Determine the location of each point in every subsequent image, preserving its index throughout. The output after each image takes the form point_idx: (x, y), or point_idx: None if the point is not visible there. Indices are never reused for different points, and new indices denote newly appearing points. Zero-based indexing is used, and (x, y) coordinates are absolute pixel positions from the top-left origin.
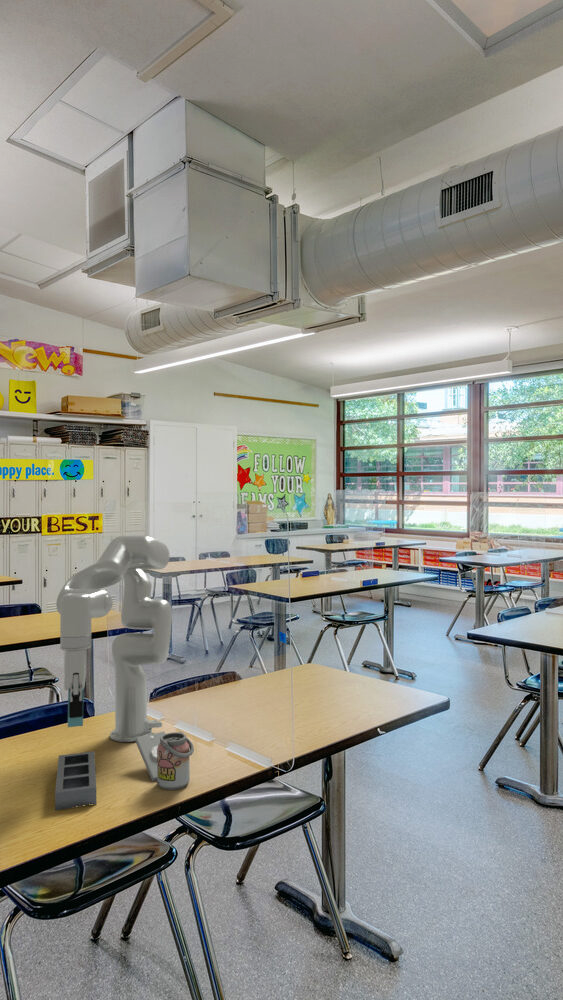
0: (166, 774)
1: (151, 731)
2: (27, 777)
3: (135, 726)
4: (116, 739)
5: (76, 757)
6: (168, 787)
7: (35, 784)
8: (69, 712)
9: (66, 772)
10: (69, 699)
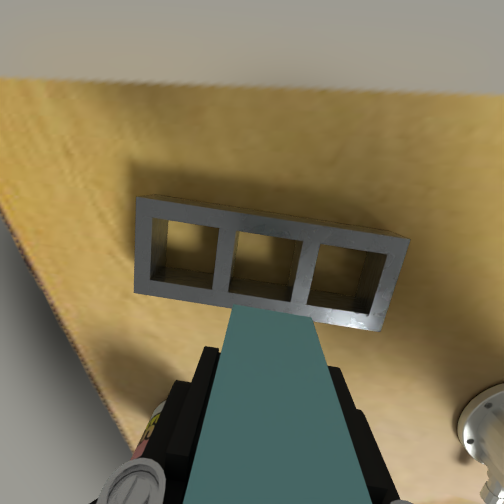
0: (147, 429)
1: (484, 464)
2: (392, 147)
3: (498, 455)
4: (496, 389)
5: (376, 282)
6: (156, 408)
7: (330, 164)
8: (196, 369)
9: (300, 243)
10: (190, 481)
